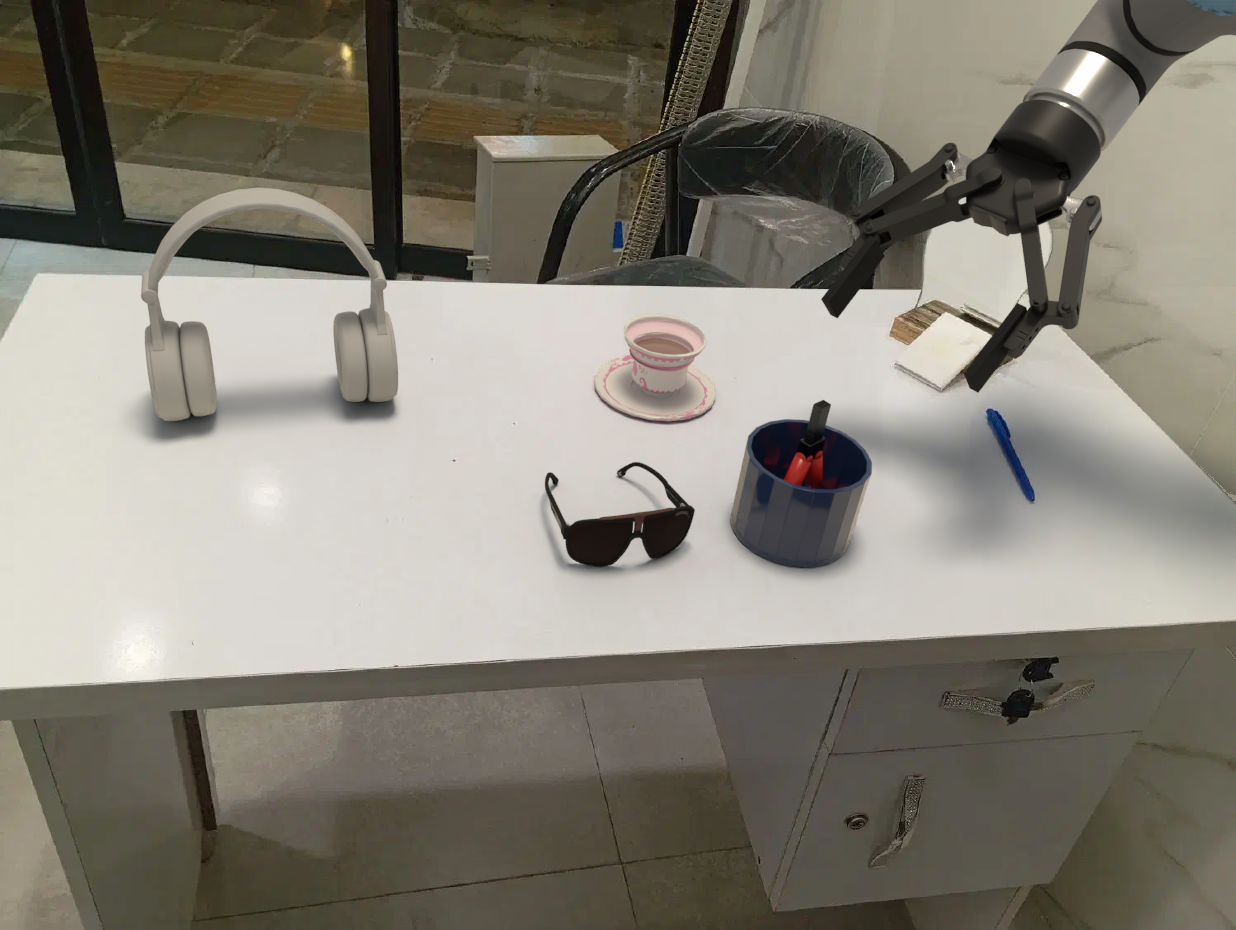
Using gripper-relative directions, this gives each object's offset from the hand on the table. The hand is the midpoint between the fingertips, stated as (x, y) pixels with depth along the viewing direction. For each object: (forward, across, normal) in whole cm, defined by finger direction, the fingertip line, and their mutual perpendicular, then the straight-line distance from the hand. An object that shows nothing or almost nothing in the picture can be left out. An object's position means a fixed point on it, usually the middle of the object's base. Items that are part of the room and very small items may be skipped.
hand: (896, 344), depth 78 cm
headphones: (+35, +38, +13) cm, 53 cm away
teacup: (+13, +22, -9) cm, 27 cm away
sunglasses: (+25, +9, +3) cm, 27 cm away
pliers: (+16, 0, -4) cm, 16 cm away
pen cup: (+16, 0, -5) cm, 17 cm away
